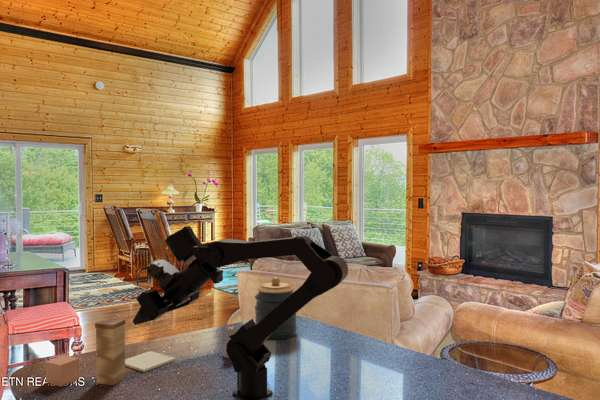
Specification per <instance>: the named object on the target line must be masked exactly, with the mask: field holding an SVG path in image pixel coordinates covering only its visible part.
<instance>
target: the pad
mask: <svg viewBox="0 0 600 400" xmlns="http://www.w3.org/2000/svg"><path fill="white" fill-rule="evenodd" d="M175 361H176V358H175V357H173V356H170V355H166V354H162V353H159V352H155V351H152V350H148V351H147V352H143V353H141V354H137V355H135V356H132V357H128V358H125V367H127V368H130V369H134V370H136V371H139V372H143V373H145V372H148V371H150V370H153V369H154V370H155V368H158V367H162V366H164V365H166V364H169V363H172V362H175Z"/></svg>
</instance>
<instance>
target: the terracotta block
mask: <svg viewBox="0 0 600 400" xmlns="http://www.w3.org/2000/svg"><path fill="white" fill-rule="evenodd" d="M77 380H80V358H79V357H74V356H69V355H61V356H58V357H55V358H53V359H50V360H47V361H45V383H46V382H48V383H51V384H50V385H52V384H54V385H53V386H57V385H58V386H57V387H63V385H64V386H66V385H68V384H70V382H71V383H73V382H75V381H77ZM72 381H73V382H72ZM48 383H47V384H48ZM67 383H68V384H67ZM65 384H66V385H65Z"/></svg>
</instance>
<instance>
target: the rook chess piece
mask: <svg viewBox="0 0 600 400" xmlns="http://www.w3.org/2000/svg"><path fill="white" fill-rule="evenodd" d="M236 327H237V326H236V325H231V324H230V325H227V326H225V330H224V331H225V333H226V334H225V337H226V340H225V346H224V348H223V350H222V352H223V353H222V356H223V357H224V358H225V359H227V360H228V359H229V360H231V359H230V358H229V357H228V355H227V351H226V345H227V343H228V341H229V340H230V339H231V338H229V336H230V335H232V334H233V333H235V332H236V331H238V329H237V328H236Z"/></svg>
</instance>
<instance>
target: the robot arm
mask: <svg viewBox="0 0 600 400" xmlns="http://www.w3.org/2000/svg"><path fill="white" fill-rule="evenodd" d="M164 244H165V246H166V247H167V248H168V250H169V251H170V252H171V254H172V256H173V257H174V258H175V260H176V261H177V262H178V263H182V262H183V263H184V264H188V265H186V266H185V267H184V268H182V270H181V271H180V270H179V269H178V268H177V267H176V266H174V265H173V264H171V263H170V262H168V260H166V259H157V260H154V261H153V262H151V263H150V265H148V266H147V267H146V269H147V271H146V273H147V275H148V276H149V277H150V278H152V279H153V280H155V281H157V282H159V283H160V284H159V285H158V287H159V288H160V289H161V290H162V292H163V295H162V296H161V294H160V292H159V291H158V290H157V289H153V288H150V289H148V290H145V291H142V292H141V293H139V294H138V296H137V295H136V301H137V303H139V306H140V307H139V308H138V309H139V310H138V311H137V313H136V314H135V316H134V318H133V320H132V323H133V325H135V326H137V325H141V324H144V323H148V322H153V321H155V320H158V319H160V318H162V316H163V315H165V314H166V313H169V312H171V311H175V310H177V309H181V308H183V307H187V306H188V305H191V304H192V303H195V302H196V301H197V300H198V299H199V298H200V291H201V290H202V287H203V286H204V285H205V284H207V283H208V282H209V281H210V280H211V282H212V283H213V284H214V285H216V284H218V283H220V282H223V281H224V276H223V274H224V270H223V269H218V268H222V267H225V266H228V265H232V264H235V263H239V262H242V261H246V260H254V259H267V258H278V257H289V256H296V258H297V259H298V260H299V261H300V262H301V263H302V264H303V265H304V267H305V268H306V270H307V271H309V272H310V274H308V276H307V277H306V279H305V281H304V282H303V283H302V284H301V286H299V287H298V288H297V289H296V290H295V291H293V294H291V295H290V296H289V297H288V298H287V299H286V300H284V301H283V302H282V303H281V304H280V305H278V306H277V307H276V308H275V309H274V310H273V311H271V312H270V313H269V314H268V315H267V316H266V317H264V318H263V319H262V320H261V321H260V322H258V323H256V324H255V319H254V318H251V319H250V320H248V321H247V322H244V324H242V325H241V326H240V327H239V328H238V329H237V331H236V332H235V333H233V334H232V335H230V336H229V338H231V339H230V340H229V341H228V343H227V345H226V344H225V346H226V351H227V355H228V357H229V358H230V359H229V360H230V361H231V365H232V368H233V371H234V372H235V373H237V377H236V378H237V379H236V380H237V381H236V382H237V383H236V384H237V387H236V390H233V391H232V393H231V394H232V395H233V396H235V397H237V398H240V399H241V400H262V399H265V398H266V397H268V396H271V395H273V393H274V392H273V391H272V390H270V389H268V367H267V366H266V364H267V363H268V362H269V361H270V358H271V356H272V352H271V350H270V349H269V348H268V347H267V346H266V345H265V343H266V342H267V341H268V340H269V339H268V338H269V337H270V335H271V334H272V333H273V332H274V331H275V330H276V329H277V328H279V327H280V326H281V325H282V324H283V323H285V322H286V321H287V320H288V319H289V318H291V317H292V316H293V315H294V314H295V313H296V314H297V313H298V312H299V311H300V310H301V309H303V308H304V307H305V306H307V304H309V302H310V301H312V300H314V299H315V298H317V297H319V296H321V295H323V294H325V293H327V292H328V291H330V290H332V289H334V288H335V287H337V286H338V285H340V284H341V283H342V282H343V281H344V280H345V279H346V278H347V277H348V275H349V265H348V264H347V262H346V260H345V259H344V258H342V257H340V256H338V255H334V254H332V253H331V252H329V251H328V249H325V248H324V247H322V246H321V245H319V244H318V243H316V242H315V241H313V239H311V238H310V237H309V236H308V235H304V234H302V235H298V236H292V237H282V238H272V239H262V240H261V239H260V240H254V241H253V240H252V241H251V240H250V241H249V240H247V241H246V240H243V239H236V238H235V239H234V238H224V239H219V240H214V241H211V242H206V243H202V242H201V241H200V239H199V238H198V236H197V235H196V234H195V232H194V229H192V227H191V225H187V226H185V225H184V226H183V227H182V228H181V229H179V230H177V231H175V232H174V233H172V234H169V235H168V237H166V239H165V240H164ZM189 262H190V263H189Z"/></svg>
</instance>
